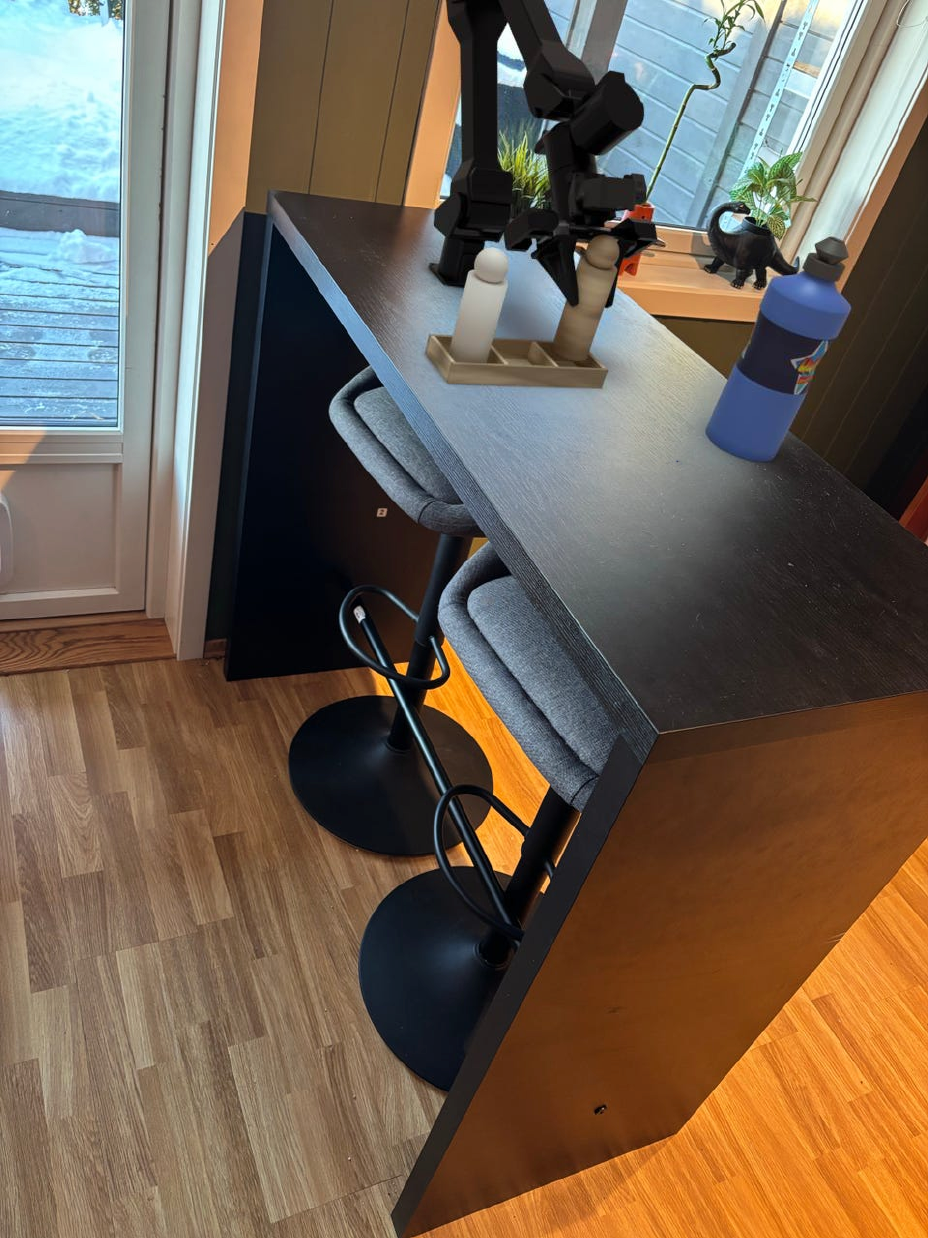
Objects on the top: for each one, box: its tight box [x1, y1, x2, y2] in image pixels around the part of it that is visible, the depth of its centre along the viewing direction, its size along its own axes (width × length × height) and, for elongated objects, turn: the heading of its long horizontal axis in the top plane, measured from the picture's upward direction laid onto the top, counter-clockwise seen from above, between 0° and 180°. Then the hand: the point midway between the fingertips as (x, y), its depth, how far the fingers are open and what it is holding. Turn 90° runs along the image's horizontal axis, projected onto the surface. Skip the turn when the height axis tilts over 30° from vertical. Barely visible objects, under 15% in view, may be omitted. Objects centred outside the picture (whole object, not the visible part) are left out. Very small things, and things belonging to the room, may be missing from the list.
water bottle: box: [705, 236, 852, 463], centre depth 110 cm, size 9×9×25 cm
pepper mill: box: [551, 235, 619, 361], centre depth 113 cm, size 5×5×14 cm
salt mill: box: [449, 247, 510, 363], centre depth 108 cm, size 5×5×14 cm
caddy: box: [424, 333, 609, 389], centre depth 115 cm, size 7×21×3 cm, turn 113°
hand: (592, 306), depth 112 cm, fingers closed on pepper mill, 5 cm apart
